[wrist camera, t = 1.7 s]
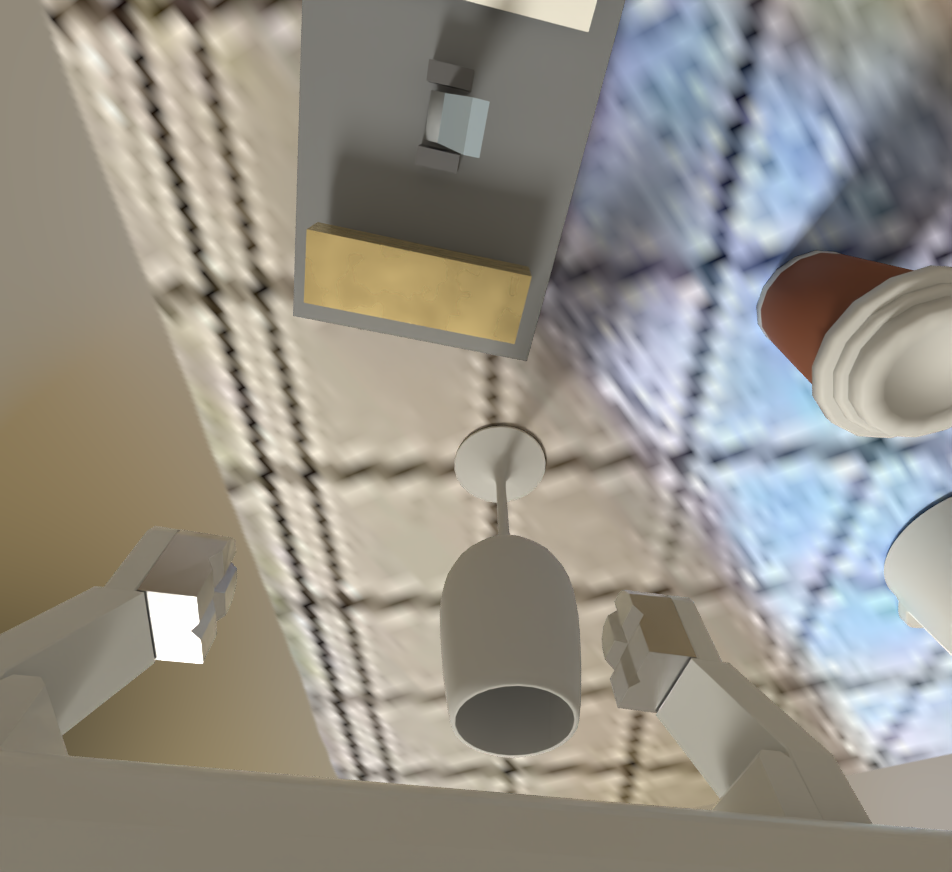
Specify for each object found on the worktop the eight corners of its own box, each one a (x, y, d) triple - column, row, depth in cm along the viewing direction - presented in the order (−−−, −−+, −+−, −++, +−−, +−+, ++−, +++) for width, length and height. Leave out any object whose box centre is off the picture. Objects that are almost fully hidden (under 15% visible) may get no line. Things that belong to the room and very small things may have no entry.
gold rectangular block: (528, 266, 28) (531, 276, 26) (512, 331, 30) (514, 344, 28) (317, 221, 27) (306, 229, 25) (314, 291, 29) (303, 302, 27)
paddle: (459, 97, 26) (500, 104, 21) (452, 144, 27) (489, 160, 22) (427, 89, 25) (461, 94, 20) (421, 137, 26) (452, 152, 21)
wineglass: (507, 405, 40) (530, 645, 22) (566, 470, 43) (630, 729, 25) (432, 459, 42) (396, 715, 24) (493, 517, 45) (501, 783, 27)
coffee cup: (826, 376, 38) (954, 473, 28) (711, 346, 37) (799, 434, 27) (911, 249, 34) (1099, 308, 24) (782, 210, 33) (921, 253, 22)
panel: (640, -126, 25) (688, -199, 19) (521, 332, 37) (529, 373, 31) (341, -214, 24) (296, -321, 18) (315, 291, 35) (283, 326, 30)
